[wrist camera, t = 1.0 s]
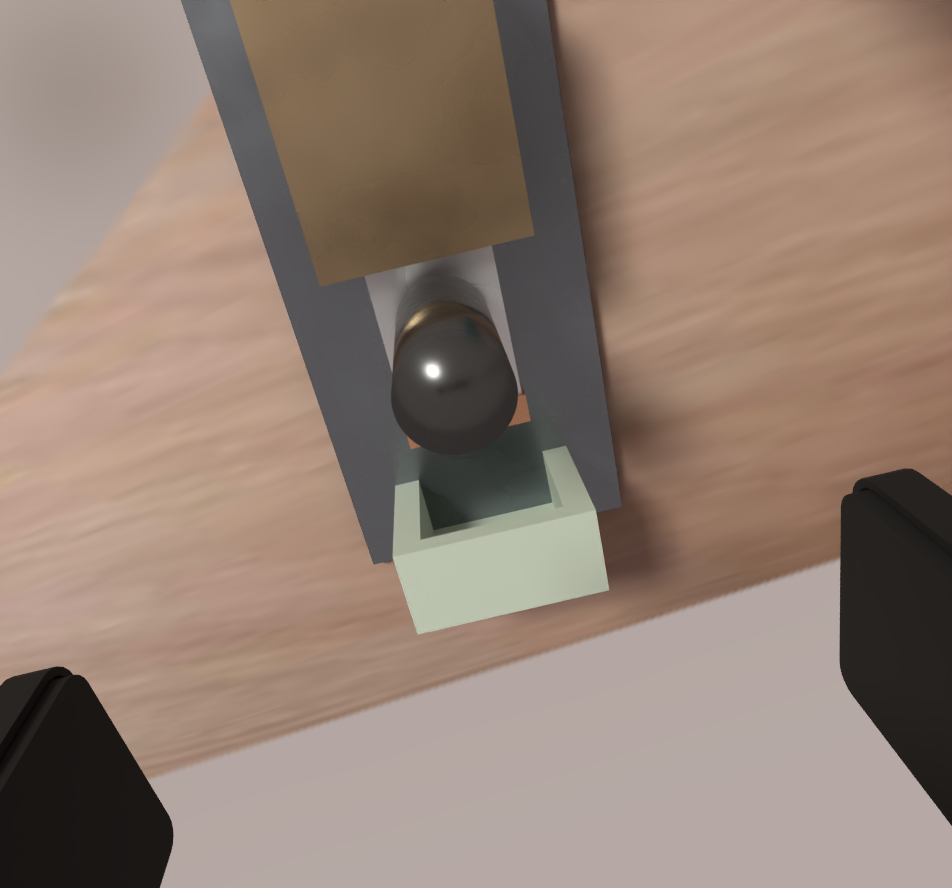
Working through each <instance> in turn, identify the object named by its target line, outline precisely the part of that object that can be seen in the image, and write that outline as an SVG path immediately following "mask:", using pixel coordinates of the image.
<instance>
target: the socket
mask: <svg viewBox="0 0 952 888" xmlns="http://www.w3.org/2000/svg"><path fill="white" fill-rule="evenodd" d="M542 453H543V458H544V463H545V468H546V473H547V478H548V483H549V488H550V493H551V498H552V503H548V504H544V505H540V506H535V507H531V508H527V509H523V510H518V511H514V512H510V513H505V514H501V515H497V516H493V517H488V518H484V519H480V520H475V521H471V522H467V523H462V524H458V525H454V526H450V527H445V528H441V529H437V530H433V527H432V524H431V520H430V517H429V513H428V510H427V507H426V503H425V500H424V496H423V493H422V489H421V486H420V482H419V480H417V481H413V482H409V483H404V484H400V485H396V486H395V505H394V533H393V560H394V563H395V566H396V569H397V572H398V575H399V579H400V582H401V585H402V588H403V591H404V594H405V597H406V600H407V603H408V606H409V609H410V612H411V615H412V618H413V622H414V625H415V628H416V631H417V634H422V633H426V632H430V631H435V630H439V629H443V628H448V627H452V626H456V625H461V624H465V623H469V622H474V621H478V620H482V619H487V618H491V617H496V616H500V615H504V614H509V613H513V612H517V611H522V610H526V609H530V608H535V607H539V606H543V605H548V604H552V603H556V602H561V601H565V600H569V599H574V598H578V597H582V596H587V595H591V594H595V593H600V592H604V591H608V590H609V585H608V579H607V573H606V567H605V562H604V556H603V550H602V544H601V538H600V532H599V526H598V520H597V514H596V509H595V507H594V505H593V503H592V501H591V499H590V496H589V494H588V492H587V490H586V488H585V486H584V483H583V481H582V479H581V477H580V475H579V473H578V470H577V468H576V466H575V464H574V462H573V460H572V457H571V455H570V453H569V451H568V449H567V447H566V446H563V447H558V448H554V449H550V450H545V451H542Z"/></svg>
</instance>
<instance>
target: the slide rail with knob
mask: <svg viewBox="0 0 952 888" xmlns="http://www.w3.org/2000/svg"><path fill="white" fill-rule="evenodd" d="M181 2H182V5H183V8H184V10H185V14H186V17H187V20H188V22H189V25H190V28H191V31H192V34H193V37H194V40H195V43H196V46H197V49H198V51H199V55H200V57H201V60H202V63H203V66H204V69H205V72H206V75H207V78H208V81H209V84H210V87H211V90H212V93H213V96H214V99H215V101H216V104H217V107H218V110H219V113H220V116H221V119H222V122H223V125H224V128H225V131H226V134H227V137H228V140H229V142H230V145H231V148H232V151H233V154H234V157H235V160H236V163H237V166H238V169H239V172H240V175H241V178H242V181H243V183H244V186H245V189H246V192H247V195H248V198H249V201H250V204H251V207H252V210H253V213H254V216H255V219H256V221H257V224H258V227H259V230H260V233H261V236H262V239H263V242H264V245H265V248H266V251H267V254H268V257H269V260H270V262H271V265H272V268H273V271H274V274H275V277H276V280H277V283H278V286H279V289H280V292H281V295H282V298H283V301H284V303H285V306H286V309H287V312H288V315H289V318H290V321H291V324H292V327H293V330H294V333H295V336H296V339H297V341H298V344H299V347H300V350H301V353H302V356H303V359H304V362H305V365H306V368H307V371H308V374H309V377H310V380H311V382H312V385H313V388H314V391H315V394H316V397H317V400H318V403H319V406H320V409H321V412H322V415H323V418H324V421H325V423H326V426H327V429H328V432H329V435H330V438H331V441H332V444H333V447H334V450H335V453H336V456H337V459H338V461H339V464H340V467H341V470H342V473H343V476H344V479H345V482H346V485H347V488H348V491H349V494H350V497H351V500H352V502H353V505H354V508H355V511H356V514H357V517H358V520H359V523H360V526H361V529H362V532H363V535H364V538H365V541H366V543H367V546H368V549H369V552H370V555H371V558H372V561H373V564H378V563H382V562H387V561H391V560H393V533H394V505H395V486H396V485H400V484H404V483H409V482H413V481H417V480H419V482H420V486H421V489H422V493H423V496H424V500H425V503H426V507H427V510H428V513H429V517H430V520H431V524H432V527H433V530H437V529H441V528H445V527H450V526H454V525H458V524H462V523H467V522H471V521H475V520H480V519H484V518H488V517H493V516H497V515H501V514H505V513H510V512H514V511H518V510H523V509H527V508H531V507H535V506H540V505H544V504H548V503H552V498H551V493H550V488H549V483H548V478H547V473H546V468H545V463H544V458H543V453H542V451H545V450H550V449H554V448H558V447H563V446H566V447H567V449H568V451H569V453H570V455H571V457H572V460H573V462H574V464H575V466H576V468H577V470H578V473H579V475H580V477H581V479H582V481H583V483H584V486H585V488H586V490H587V492H588V494H589V496H590V499H591V501H592V503H593V505H594V507H595V509H596V513H598V512H602V511H606V510H610V509H615V508H619V507H622V503H621V496H620V490H619V483H618V476H617V470H616V463H615V456H614V450H613V443H612V436H611V429H610V423H609V416H608V409H607V403H606V396H605V389H604V382H603V376H602V369H601V362H600V356H599V349H598V342H597V335H596V329H595V322H594V315H593V309H592V302H591V295H590V288H589V282H588V275H587V268H586V262H585V255H584V248H583V241H582V235H581V228H580V221H579V215H578V208H577V201H576V195H575V188H574V181H573V174H572V168H571V161H570V154H569V148H568V141H567V134H566V127H565V121H564V114H563V107H562V101H561V94H560V87H559V80H558V74H557V67H556V60H555V54H554V47H553V40H552V33H551V27H550V20H549V13H548V7H547V0H181ZM488 246H492V249H493V254H494V259H495V264H496V269H497V274H498V279H499V284H500V288H501V293H502V298H503V303H504V308H505V313H506V318H507V323H508V328H509V333H510V337H511V342H512V347H513V352H514V357H515V362H516V367H517V372H518V377H519V380H520V382H521V385H522V387H523V390H524V392H525V395H526V400H527V405H528V410H529V415H530V420H531V421H529V422H524V423H520V424H516V425H511V426H508V427H507V429H506V430H505V431H504V432H503V434H502V435H500V436H499V437H498V438H497V439H496V440H495V441H494V442H492V443H491V444H489V445H488V446H486V447H484V448H482V449H480V450H477V451H474V452H471V453H467V454H461V455H446V454H440V453H436V452H432V451H429V450H427V449H425V448H423V447H418V448H414V449H410V445H409V442H408V438H407V435H406V434H405V433H404V432H403V431H402V429H401V428H400V426H399V425H398V423H397V421H396V419H395V416H394V413H393V409H392V405H391V387H392V371H391V367H390V364H389V360H388V357H387V353H386V350H385V346H384V343H383V339H382V336H381V332H380V329H379V325H378V322H377V318H376V315H375V311H374V308H373V304H372V301H371V297H370V294H369V290H368V287H367V284H366V280H365V277H364V276H367V275H371V274H375V273H379V272H383V271H388V270H392V269H396V268H400V267H404V266H408V265H413V264H417V263H421V262H425V261H429V260H434V259H438V258H442V257H446V256H450V255H454V254H459V253H463V252H467V251H471V250H475V249H480V248H484V247H488Z"/></svg>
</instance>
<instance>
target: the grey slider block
mask: <svg viewBox="0 0 952 888" xmlns="http://www.w3.org/2000/svg"><path fill="white" fill-rule="evenodd" d="M364 277H365V280H366V284H367V287H368V290H369V294H370V297H371V301H372V304H373V308H374V311H375V315H376V318H377V322H378V325H379V329H380V332H381V336H382V339H383V343H384V346H385V350H386V353H387V357H388V360H389V364H390V367H391V371H392V387H391V405H392V409H393V413H394V416H395V419H396V421H397V423H398V425H399V426H400V428H401V429H402V431H403V432H404V433H405V434H406V435H407V438H408V442H409V445H410V449H414V448H418V447H423V448H425V449H427V450H429V451H432V452H436V453H440V454H446V455H461V454H467V453H471V452H474V451H477V450H480V449H482V448H484V447H486V446H488V445H489V444H491V443H492V442H494V441H495V440H496V439H497V438H498V437H499V436H500V435H502V434H503V432H504V431H505V430H506V429H507V427H508V426H511V425H516V424H520V423H524V422H529V421H531V420H530V415H529V410H528V405H527V400H526V395H525V392H524V390H523V387H522V385H521V382H520V380H519V377H518V372H517V367H516V362H515V357H514V352H513V347H512V342H511V337H510V333H509V328H508V323H507V318H506V313H505V308H504V303H503V298H502V293H501V288H500V284H499V279H498V274H497V269H496V264H495V259H494V254H493V249H492V246H488V247H484V248H480V249H475V250H471V251H467V252H463V253H459V254H454V255H450V256H446V257H442V258H438V259H434V260H429V261H425V262H421V263H417V264H413V265H408V266H404V267H400V268H396V269H392V270H388V271H383V272H379V273H375V274H371V275H367V276H364Z"/></svg>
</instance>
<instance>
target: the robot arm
mask: <svg viewBox="0 0 952 888" xmlns="http://www.w3.org/2000/svg"><path fill="white" fill-rule="evenodd" d="M840 566H841V567H840V570H841V572H840V668H841V672H842V676H843V678H844V681H845V683H846V685H847V687H848V689H849V691H850V692H851V694H852V695H853V697H854V698H855V699H856V700H857V702H858V703H859V704H860V706H861V707H862V708H863V710H864V711H865V712H866V714H867V715H868V716H869V717H870V719H871V720H872V722H873V723H874V724H875V726H876V727H877V728H878V729H879V731H880V732H881V733H882V735H883V736H884V737H885V739H886V740H887V741H888V742H889V744H890V745H891V747H892V748H893V749H894V750H895V752H896V753H897V754H898V756H899V757H900V758H901V760H902V761H903V762H904V763H905V765H906V766H907V767H908V769H909V770H910V772H911V773H912V774H913V775H914V777H915V778H916V779H917V781H918V782H919V783H920V784H921V786H922V787H923V789H924V790H925V791H926V792H927V794H928V795H929V796H930V798H931V799H932V800H933V802H934V803H935V804H936V806H937V807H938V808H939V809H940V811H941V812H942V814H943V815H944V816H945V817H946V819H947V820H948V821H949V823H950V824H951V825H952V496H951V495H950V494H948V493H947V492H946V491H944V490H943V489H941V488H940V487H939V486H937V485H936V484H934V483H933V482H932V481H930V480H929V479H927V478H926V477H925V476H923V475H922V474H920V473H919V472H917V471H915V470H913V469H901V470H897V471H892V472H888V473H884V474H879V475H875V476H871V477H867V478H862V479H860V480H858V481H857V482H856V483H855V485H854V487H853V493H852V494H848V495H846V496H844V498H843V500H842V504H841V565H840ZM172 845H173V827H172V822H171V819H170V817H169V815H168V813H167V812H166V810H165V808H164V807H163V805H162V803H161V802H160V800H159V798H158V797H157V795H156V794H155V792H154V790H153V789H152V787H151V785H150V784H149V782H148V780H147V779H146V777H145V775H144V774H143V772H142V770H141V769H140V767H139V765H138V764H137V762H136V761H135V759H134V757H133V756H132V754H131V752H130V751H129V749H128V747H127V746H126V744H125V742H124V741H123V739H122V737H121V736H120V734H119V733H118V731H117V729H116V728H115V726H114V724H113V723H112V721H111V719H110V718H109V716H108V714H107V713H106V711H105V709H104V708H103V706H102V704H101V703H100V701H99V700H98V698H97V696H96V695H95V693H94V691H93V690H92V688H91V686H90V685H89V683H88V682H87V681H86V679H85V678H84V677H82V676H80V675H73V674H72V673H71V672H70V671H69V670H68V669H66V668H64V667H52V668H48V669H44V670H39V671H35V672H31V673H27V674H22V675H18V676H14V677H11V678H9V679H7V680H5V681H4V682H3V684H2V685H1V686H0V888H160V885H161V882H162V879H163V876H164V873H165V869H166V866H167V863H168V859H169V856H170V853H171V850H172Z"/></svg>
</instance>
